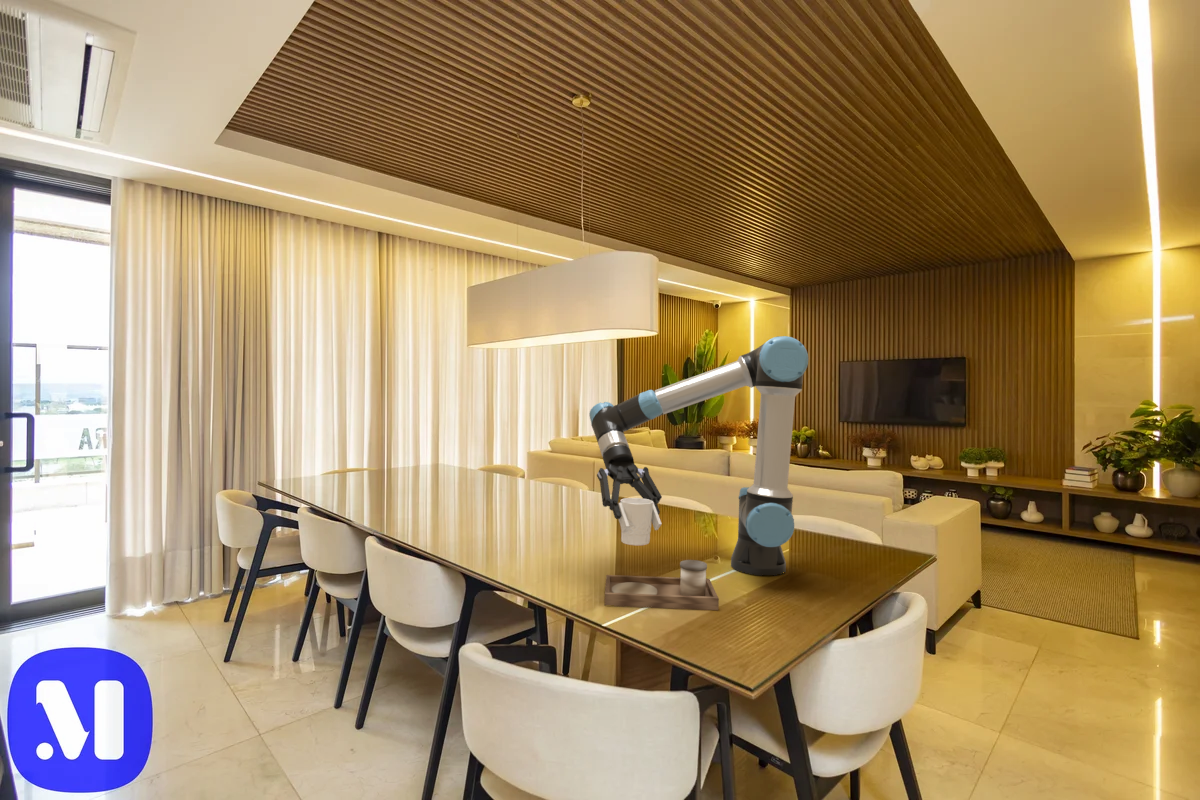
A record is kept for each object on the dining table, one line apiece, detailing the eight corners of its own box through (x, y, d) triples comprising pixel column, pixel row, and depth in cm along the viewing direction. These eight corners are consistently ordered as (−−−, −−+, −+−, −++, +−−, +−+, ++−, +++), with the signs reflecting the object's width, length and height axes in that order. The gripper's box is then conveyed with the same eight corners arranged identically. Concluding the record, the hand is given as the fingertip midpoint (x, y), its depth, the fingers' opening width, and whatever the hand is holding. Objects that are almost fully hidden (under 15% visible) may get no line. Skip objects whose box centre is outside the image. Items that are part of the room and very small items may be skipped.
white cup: (649, 547, 134) (651, 504, 134) (616, 544, 136) (617, 502, 135) (653, 539, 142) (654, 499, 142) (621, 536, 143) (623, 496, 143)
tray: (708, 589, 145) (709, 556, 145) (718, 610, 131) (719, 573, 131) (606, 585, 146) (607, 552, 146) (604, 605, 132) (605, 569, 132)
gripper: (646, 460, 157) (674, 533, 142) (575, 462, 149) (597, 539, 134) (656, 443, 152) (686, 516, 137) (583, 443, 144) (607, 522, 129)
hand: (642, 528), depth 135 cm, fingers closed on white cup, 8 cm apart
